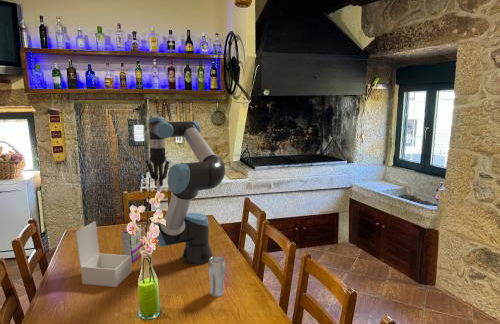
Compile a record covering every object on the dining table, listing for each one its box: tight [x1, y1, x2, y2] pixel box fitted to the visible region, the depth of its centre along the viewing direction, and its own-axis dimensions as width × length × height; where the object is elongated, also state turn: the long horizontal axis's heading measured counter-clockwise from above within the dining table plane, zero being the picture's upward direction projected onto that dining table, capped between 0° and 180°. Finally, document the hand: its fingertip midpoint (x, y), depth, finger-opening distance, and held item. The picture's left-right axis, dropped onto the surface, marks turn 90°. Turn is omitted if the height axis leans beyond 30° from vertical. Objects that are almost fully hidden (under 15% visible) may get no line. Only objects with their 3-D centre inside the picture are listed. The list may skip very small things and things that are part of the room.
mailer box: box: [80, 252, 133, 288], centre depth 157 cm, size 16×14×8 cm
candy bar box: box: [121, 224, 143, 264], centre depth 176 cm, size 11×5×16 cm, turn 169°
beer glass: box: [207, 255, 226, 298], centre depth 145 cm, size 7×7×15 cm
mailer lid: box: [74, 220, 100, 268], centre depth 157 cm, size 16×14×1 cm
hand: (159, 192), depth 182 cm, fingers closed
